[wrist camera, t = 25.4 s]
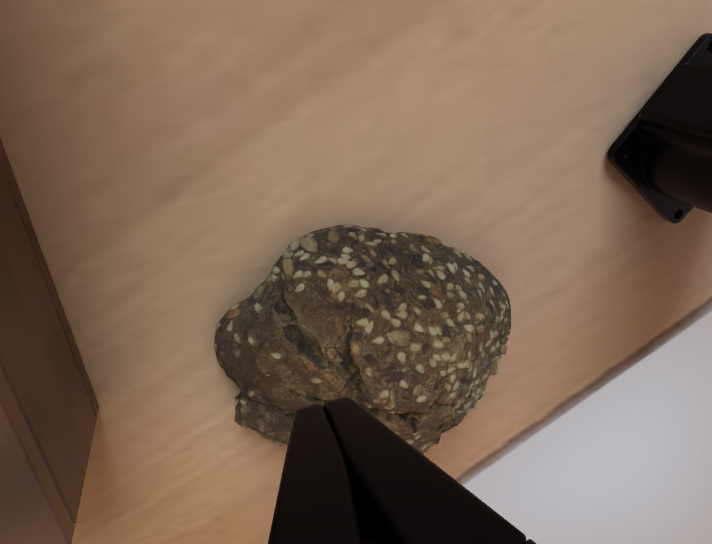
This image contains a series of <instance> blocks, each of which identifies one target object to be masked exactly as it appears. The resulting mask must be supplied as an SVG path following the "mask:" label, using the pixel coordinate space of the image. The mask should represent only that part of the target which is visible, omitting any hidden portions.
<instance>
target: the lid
mask: <svg viewBox="0 0 712 544" xmlns="http://www.w3.org/2000/svg"><path fill="white" fill-rule="evenodd" d="M74 528H75V526H74V524H73V522H72V520H71V518H70V515H69V513H68V511H67V509H66V507H65V505H64V502H63V500H62V498H61V496H60V494H59V492H58V490H57V487H56V485H55V483H54V481H53V479H52V477H51V474H50V472H49V470H48V468H47V466H46V464H45V462H44V459H43V457H42V455H41V453H40V451H39V449H38V447H37V444H36V442H35V440H34V438H33V436H32V434H31V431H30V429H29V427H28V425H27V423H26V421H25V419H24V416H23V414H22V412H21V410H20V408H19V406H18V403H17V401H16V399H15V397H14V395H13V393H12V391H11V388H10V386H9V384H8V382H7V380H6V378H5V376H4V373H3V371H2V369H1V367H0V544H71V543H72V538H73V533H74Z"/></svg>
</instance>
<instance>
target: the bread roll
mask: <svg viewBox="0 0 712 544" xmlns="http://www.w3.org/2000/svg"><path fill="white" fill-rule="evenodd" d="M510 329H511V309H510V300H509V297H508V295H507V292H506V291H505V289H504V288H503V286H502V285H501V284H500V282H499V281H498V280H497V279H496V278H495V277H494V276H493V275H492V274H491V273H490V272H489V271H488V270H487V269H486V268H485V267H484V266H483V265H482V264H481V263H479V262H478V261H476V260H474V259H473V258H472V257H471V256H468V255H467V254H463V253H460V252H458V251H457V250H455V249H454V248H453V247H446V246H444V245H441V241H439V240H438V239H436V238H434V237H432V236H424V235H423V234H414V233H404V232H400V233H384V232H383V231H381V230H380V229H377V228H363V227H359V226H355V225H337V226H333V227H329V228H325V229H321V230H317V231H313V232H311V233H309V234H307V235H305V236H303V237H301V238H300V239H298V240H296V241H294V242H293V243H291V244H290V245H289V246H288V248H287V249H286V251H285V252H284V253H283V255H282V256H281V257H280V259H279V260H278V261H277V262H276V264H275V265H274V266H273V269H272V271H271V272H270V274H269V275H268V277H267V278H266V280H265V281H264V282H263V283H262V284H261V285H260V286H258V287H257V288H256V289H255V291H254V292H253V294H252V295H251V296H250V297H249V298H247V299H245V300H243V301H241V302H239V303H237V304H235V305H233V306H232V308H231V309H230V310H229V311H228V312H227V313H226V314H225V316H224V317H223V318H222V319H221V320H220V321H219V322H218V324H217V325H216V333H215V342H214V348H215V352H216V356H217V360H218V363H219V365H220V366H221V367H222V368H223V369H224V371H225V373H226V375H227V376H228V377H229V378H231V379H232V380H233V381H234V382H235V383H236V384H237V386H238V387H239V388H240V390H241V393H240V394H239V395H238V396H237V397H236V398H235V399H236V402H237V404H236V408H235V409H236V414H235V422H237V423H238V424H239V425H240V426H241V427H242V428H247V427H249V428H251V429H254V430H256V431H257V432H258V433H260V435H261V436H262V437H263V438H264V439H269V440H270V441H271V442H273V443H275V444H278V445H284V444H288V443H289V438H290V433H291V428H292V423H293V418H294V413H295V411H296V410H297V409H298V408H301V407H305V406H309V405H313V404H317V403H319V404H321V405H322V406H323V404H324V403H325V402H326V401H329V400H333V399H337V398H341V397H349V398H351V399H353V400H354V401H355V402H356V403H358V404H359V405H360V406H362V407H363V408H364V409H365V410H367V411H368V412H369V413H370V414H372V415H373V416H374V417H376V418H377V419H378V420H379V421H381V422H382V423H383V424H384V425H386V426H387V427H388V428H390V429H391V430H392V431H393V432H395V433H396V434H397V435H398V436H400V437H401V438H402V439H404V440H405V441H406V442H407V443H409V444H410V445H411V446H412V447H414V448H415V449H416V450H418V451H419V452H420V453H421V454H423V453H424V452H426V451H428V449H429V448H430V447H431V446H432V445H435V444H438V443H439V440H440V437H441V433H443V432H445V431H448V430H450V429H452V428H453V427H454V426H457V425H458V424H459V423H460V422H461V421H462V419H463V418H464V417H465V416H466V415H467V413H468V412H469V411H470V410H471V409H472V408H475V407H476V403H477V401H478V400H479V399H480V398H481V397H482V393H483V392H484V390H485V388H486V381H487V379H488V377H489V375H495V374H497V373H498V368H497V362H498V361H499V360H500V358H501V354H506V350H507V347H506V346H505V345H504V344H506V342H507V340H508V337H507V336H508V335H509V334H510Z"/></svg>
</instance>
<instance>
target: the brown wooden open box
mask: <svg viewBox="0 0 712 544" xmlns="http://www.w3.org/2000/svg"><path fill="white" fill-rule="evenodd" d="M0 367H1V369H2V371H3V373H4V376H5V378H6V380H7V382H8V384H9V386H10V388H11V391H12V393H13V395H14V397H15V399H16V401H17V403H18V406H19V408H20V410H21V412H22V414H23V416H24V419H25V421H26V423H27V425H28V427H29V429H30V431H31V434H32V436H33V438H34V440H35V442H36V444H37V447H38V449H39V451H40V453H41V455H42V457H43V459H44V462H45V464H46V466H47V468H48V470H49V472H50V474H51V477H52V479H53V481H54V483H55V485H56V487H57V490H58V492H59V494H60V496H61V498H62V500H63V502H64V505H65V507H66V509H67V511H68V513H69V515H70V518H71V520H72V522H73V524H75V523H76V518H77V513H78V508H79V503H80V498H81V493H82V488H83V483H84V478H85V473H86V468H87V463H88V459H89V454H90V449H91V444H92V439H93V434H94V429H95V424H96V419H97V418H96V417H97V414H98V409H99V406H98V403H97V401H96V398H95V395H94V392H93V390H92V387H91V384H90V382H89V379H88V376H87V374H86V371H85V368H84V365H83V363H82V360H81V357H80V355H79V352H78V349H77V346H76V344H75V341H74V338H73V336H72V333H71V330H70V327H69V325H68V322H67V319H66V317H65V314H64V311H63V309H62V306H61V303H60V300H59V298H58V295H57V292H56V290H55V287H54V284H53V281H52V279H51V276H50V273H49V271H48V268H47V265H46V263H45V260H44V257H43V254H42V252H41V249H40V246H39V244H38V241H37V238H36V235H35V233H34V230H33V227H32V225H31V222H30V219H29V217H28V214H27V211H26V208H25V206H24V203H23V200H22V198H21V195H20V192H19V189H18V187H17V184H16V181H15V179H14V176H13V173H12V170H11V168H10V165H9V162H8V160H7V157H6V154H5V152H4V149H3V146H2V143H1V141H0Z"/></svg>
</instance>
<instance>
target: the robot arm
mask: <svg viewBox="0 0 712 544" xmlns="http://www.w3.org/2000/svg"><path fill="white" fill-rule="evenodd" d="M707 46H708V48H707ZM621 150H622V151H621ZM620 151H621V154H620V155H619V153H620ZM608 160H609V161H610V162H611V163H612V164H613V166H614V167H615V168H616V169H617V170H618V171H619V172H620V173H621V174H622V175H623V176H624V177H625V178H626V179H627V180H628V181H629V182H630V183H631V184H632V185H633V186H634V188H635V189H636V190H637V191H638V192H639V193H640V194H641V195H642V196H643V197H644V198H645V199H646V200H647V201H648V202H649V203H650V204H651V205H652V206H653V207H654V209H655V210H656V211H657V212H658V213H659V214H660V215H661V216H662V217H663V218H664V219H665V220H667V221H669V222H672V223H678V222H680V221H681V220H682V219H683V218H684V217H685V216H686V215H687V214H688V212H689V211H690V210H691V209H692V208H693V207H696V208H699V209H702V210H704V211H707V212H710V213H712V33H705V34H703V35H702V36H701V37H700V38H699V39H698V40H697V41H696V42H695V43H694V45H693V46H692V47H691V48H690V50H689V51H688V52H687V53H686V55H685V56H684V57H683V58H682V59H681V61H680V62H679V63H678V64H677V66H676V67H675V68H674V69H673V71H672V72H671V73H670V74H669V75H668V77H667V78H666V79H665V80H664V82H663V83H662V84H661V85H660V87H659V88H658V89H657V90H656V91H655V93H654V94H653V95H652V96H651V98H650V99H649V100H648V101H647V103H646V104H645V105H644V106H643V107H642V109H641V110H640V111H639V112H638V114H637V115H636V116H635V117H634V119H633V120H632V121H631V122H630V124H629V125H628V126H627V127H626V128H625V130H624V131H623V132H622V133H621V135H620V136H619V137H618V138H617V140H616V141H615V142H614V143H613V144H612V146H611V147H610V149H609V151H608ZM268 544H536V543H535V542H534V541H532V540H531V539H529V540H527V541H526V536H525V535H524V534H523V533H522V532H520V531H519V530H518V529H517V528H515V527H514V526H513V525H511V524H510V523H509V522H508V521H507V520H505V519H504V518H503V517H501V516H500V515H499V514H498V513H496V512H495V511H494V510H493V509H491V508H490V507H489V506H488V505H486V504H485V503H484V502H482V501H481V500H480V499H478V498H477V497H476V496H475V495H474V494H472V493H471V492H470V491H468V490H467V489H466V488H465V487H463V486H462V485H461V484H460V483H458V482H457V481H456V480H454V479H453V478H452V477H451V476H449V475H448V474H447V473H446V472H444V471H443V470H442V469H440V468H439V467H438V466H437V465H435V464H434V463H433V462H432V461H430V460H429V459H428V458H426V457H425V456H424V455H423V454H421V453H420V452H419V451H418V450H416V449H415V448H414V447H412V446H411V445H410V444H409V443H407V442H406V441H405V440H404V439H402V438H401V437H400V436H398V435H397V434H396V433H395V432H393V431H392V430H391V429H390V428H388V427H387V426H386V425H384V424H383V423H382V422H381V421H379V420H378V419H377V418H376V417H374V416H373V415H372V414H370V413H369V412H368V411H367V410H365V409H364V408H363V407H362V406H360V405H359V404H358V403H356V402H355V401H354V400H353V399H351V398H349V397H341V398H337V399H333V400H329V401H326V402H325V403H324V404H323V406H322V405H321V404H319V403H317V404H313V405H309V406H305V407H301V408H298V409H297V410H296V411H295V413H294V418H293V423H292V428H291V433H290V438H289V443H288V447H287V452H286V457H285V462H284V467H283V472H282V477H281V482H280V487H279V491H278V496H277V501H276V506H275V511H274V516H273V521H272V526H271V531H270V535H269V540H268Z"/></svg>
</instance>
